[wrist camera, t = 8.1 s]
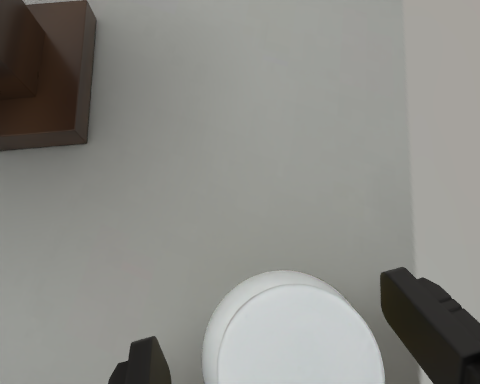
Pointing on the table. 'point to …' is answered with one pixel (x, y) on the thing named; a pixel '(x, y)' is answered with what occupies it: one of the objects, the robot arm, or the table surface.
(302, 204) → the table surface
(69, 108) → the pedestal column
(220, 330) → the supplement bottle
